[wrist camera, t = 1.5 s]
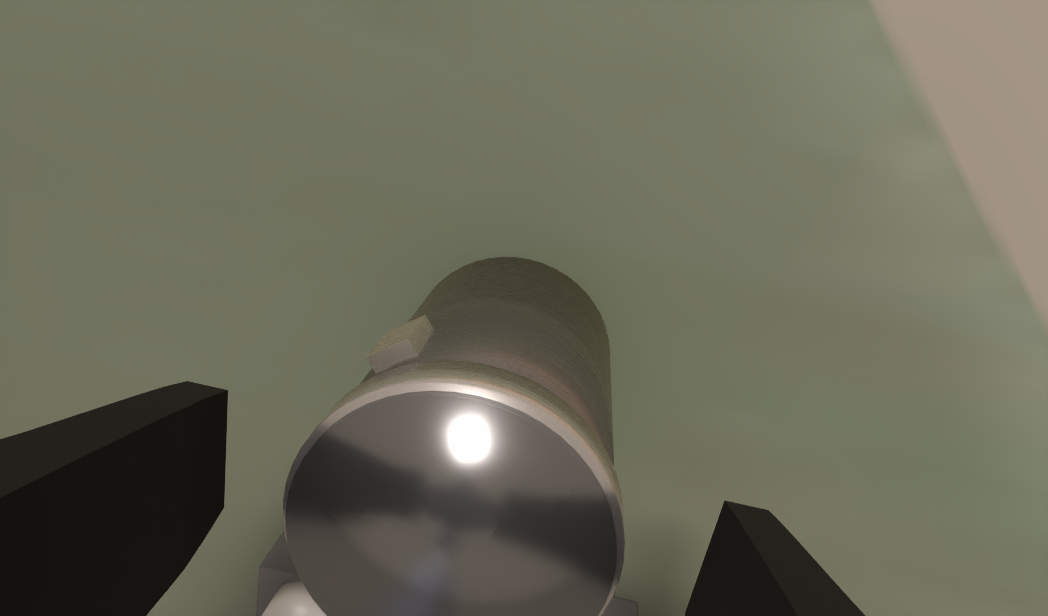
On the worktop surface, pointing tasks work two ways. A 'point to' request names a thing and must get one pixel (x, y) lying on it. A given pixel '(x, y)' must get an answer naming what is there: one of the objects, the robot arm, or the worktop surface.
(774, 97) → the worktop surface
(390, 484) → the lens
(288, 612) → the camera body
